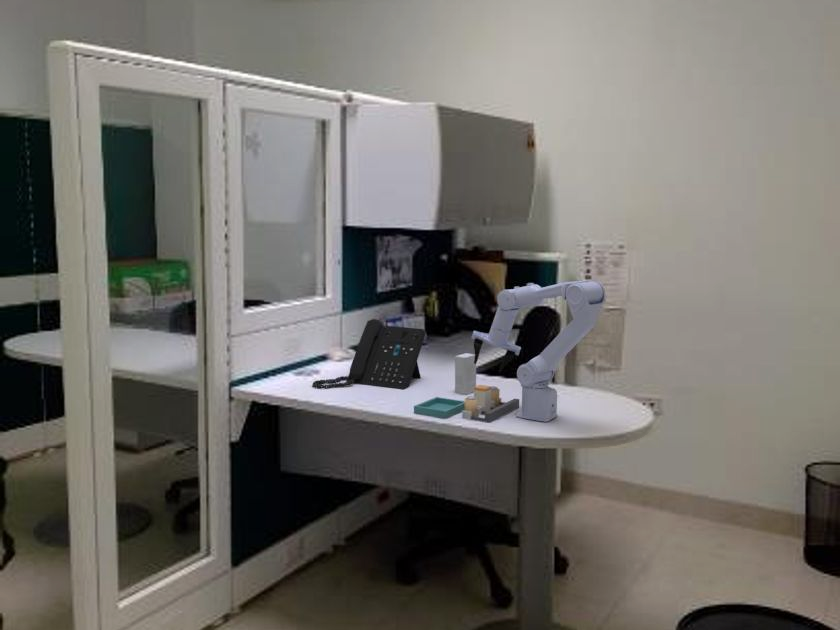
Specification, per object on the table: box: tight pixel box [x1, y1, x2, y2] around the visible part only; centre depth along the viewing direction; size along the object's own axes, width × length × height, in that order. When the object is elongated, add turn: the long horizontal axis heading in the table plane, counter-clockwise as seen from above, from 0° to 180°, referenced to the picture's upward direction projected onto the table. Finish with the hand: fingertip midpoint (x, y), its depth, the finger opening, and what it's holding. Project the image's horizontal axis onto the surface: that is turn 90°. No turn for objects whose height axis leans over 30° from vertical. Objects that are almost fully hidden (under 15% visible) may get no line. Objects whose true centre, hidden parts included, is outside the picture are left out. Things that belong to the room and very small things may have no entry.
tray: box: [413, 396, 465, 420], centre depth 230 cm, size 11×13×2 cm
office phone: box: [311, 318, 426, 390], centre depth 263 cm, size 29×28×20 cm
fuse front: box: [464, 395, 478, 417], centre depth 224 cm, size 4×4×6 cm
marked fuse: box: [473, 384, 492, 412], centre depth 230 cm, size 4×4×7 cm
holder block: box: [461, 397, 520, 424], centre depth 228 cm, size 9×19×2 cm, turn 148°
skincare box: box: [454, 352, 477, 396], centre depth 251 cm, size 6×4×12 cm
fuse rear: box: [491, 386, 501, 407], centre depth 235 cm, size 4×4×6 cm
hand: (487, 366), depth 236 cm, fingers open, 7 cm apart
